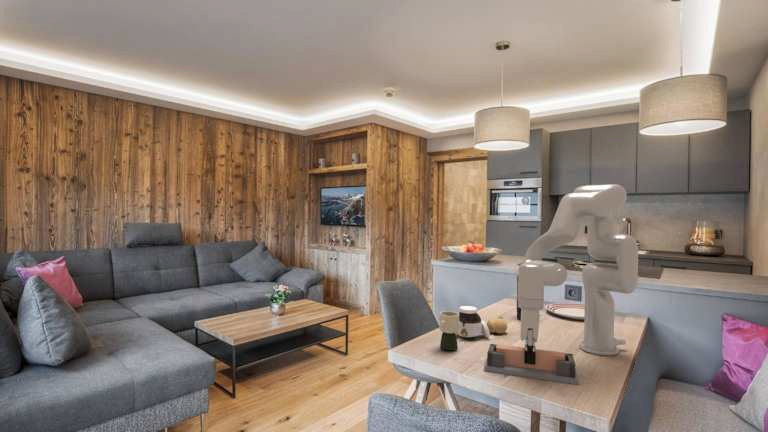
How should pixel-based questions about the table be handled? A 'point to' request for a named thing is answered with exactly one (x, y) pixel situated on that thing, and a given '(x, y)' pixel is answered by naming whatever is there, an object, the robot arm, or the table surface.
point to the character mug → (449, 329)
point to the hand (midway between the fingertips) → (529, 360)
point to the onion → (497, 325)
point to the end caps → (562, 367)
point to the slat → (542, 359)
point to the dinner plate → (568, 310)
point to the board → (532, 373)
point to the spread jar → (471, 324)
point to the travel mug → (517, 304)
